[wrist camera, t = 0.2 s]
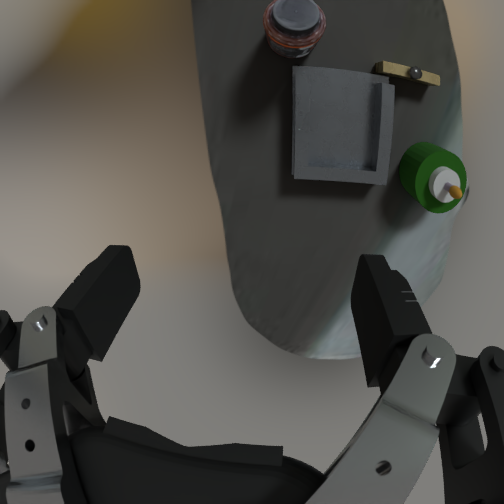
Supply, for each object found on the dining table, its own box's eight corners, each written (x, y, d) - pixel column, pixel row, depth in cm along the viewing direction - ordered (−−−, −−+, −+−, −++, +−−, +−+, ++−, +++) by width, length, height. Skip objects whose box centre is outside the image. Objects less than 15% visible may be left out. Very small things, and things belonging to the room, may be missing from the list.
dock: (292, 66, 28) (293, 63, 25) (386, 77, 27) (396, 76, 24) (291, 172, 35) (292, 180, 32) (378, 178, 34) (387, 186, 31)
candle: (392, 190, 35) (422, 221, 26) (406, 134, 31) (443, 150, 22) (437, 203, 35) (471, 234, 26) (452, 151, 30) (493, 172, 22)
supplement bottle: (316, 60, 27) (332, 45, 18) (266, 58, 28) (260, 40, 18) (315, 19, 24) (330, -12, 15) (266, 16, 25) (259, -16, 15)
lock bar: (375, 62, 26) (386, 59, 23) (429, 75, 25) (443, 75, 22) (375, 73, 27) (386, 72, 24) (428, 86, 26) (443, 86, 23)
